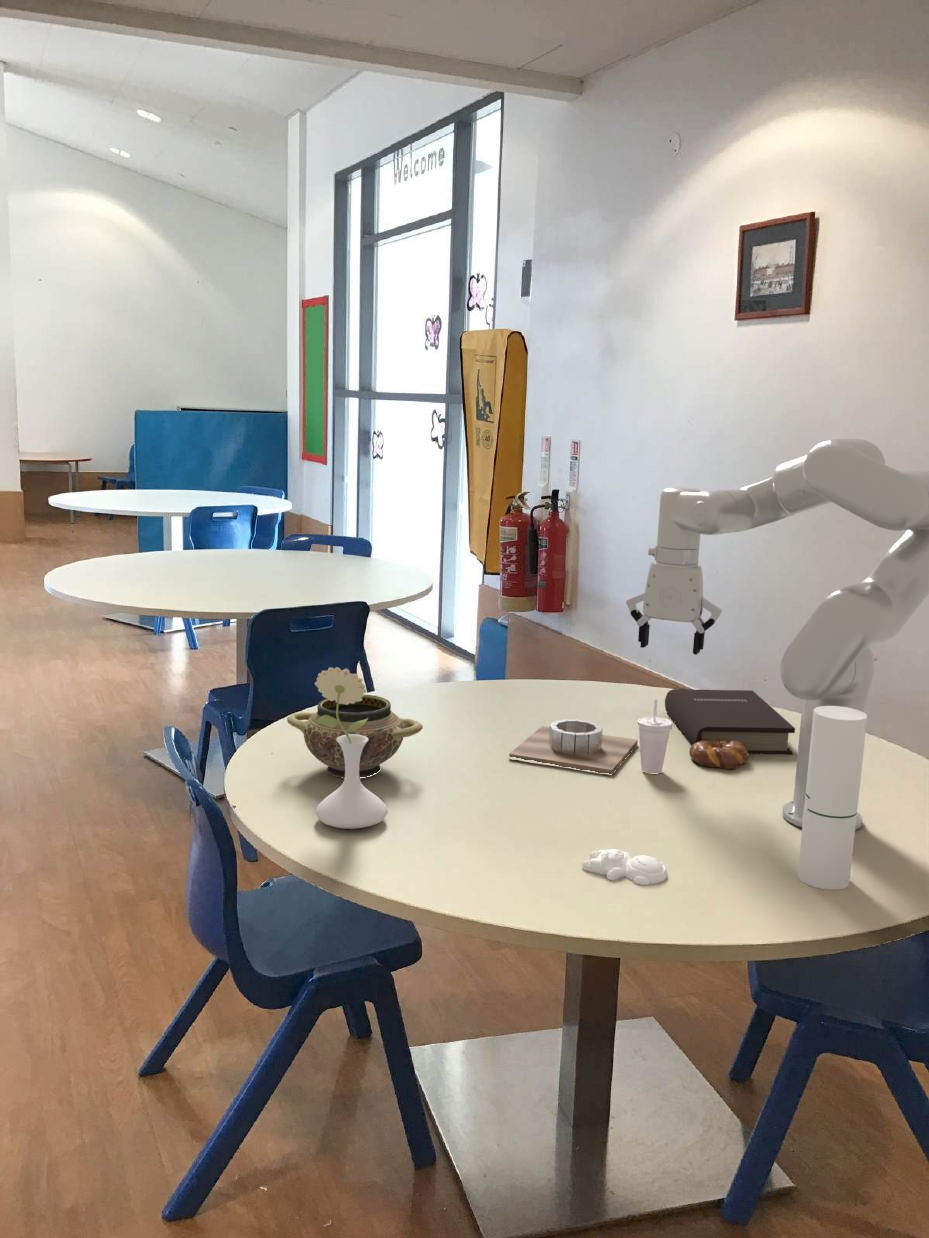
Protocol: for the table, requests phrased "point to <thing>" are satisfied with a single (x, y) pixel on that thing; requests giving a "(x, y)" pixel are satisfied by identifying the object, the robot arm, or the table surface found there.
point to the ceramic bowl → (379, 730)
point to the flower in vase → (347, 759)
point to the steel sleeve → (575, 737)
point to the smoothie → (653, 741)
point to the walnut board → (599, 762)
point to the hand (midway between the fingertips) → (670, 649)
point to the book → (729, 719)
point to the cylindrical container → (832, 796)
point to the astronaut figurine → (626, 866)
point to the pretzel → (719, 753)
